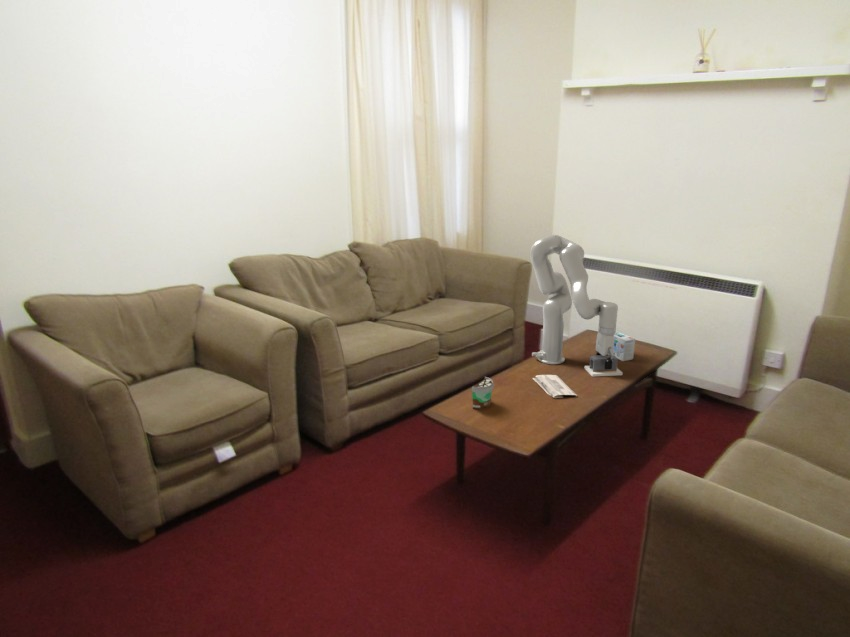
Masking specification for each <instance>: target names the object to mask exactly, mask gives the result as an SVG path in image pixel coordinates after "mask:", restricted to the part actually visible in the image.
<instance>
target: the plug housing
mask: <svg viewBox="0 0 850 637" xmlns="http://www.w3.org/2000/svg"><path fill="white" fill-rule="evenodd" d="M607 357H608V358H609V357H610V356H607ZM605 361H606V358H605V356H602V355H595V354H594V355H593V354H592V355H590V356H589V365H588V366H589V368H593V372H600V371H617V368H618V362H619V359H618V358H617V357H616V356H614V359H613V361H612V369H604V367H605Z"/></svg>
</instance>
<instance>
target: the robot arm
mask: <svg viewBox="0 0 850 637" xmlns="http://www.w3.org/2000/svg"><path fill="white" fill-rule="evenodd" d="M553 254H557V255H558V256H559V261H560V264H561V265H562V267H563V270H564V272H565V275H566V277H567V279H568V281H569V284H570V290H569V286H568V282H567V280H566V278H565V276H564V274H562V273H561V272H559V271H554V269H553V264H552V263H551V261H550V260H549V258H548V257H549V256H550V255H553ZM584 257H585V250H584V249H583V247H582V246H581V245H579V244H577V243H576V242H574V241H572V240H569V239H567V238H565V237H563V236H560V235H558V234H551V235H547V236H544V237H541V238H539V239H538V240H536V241H535V242H534V243H533V244H532V245H531V247H530V251H529V259H530V263H531V266H532V268H533V272H534V274H535V275H534V277H535V280H536V283H537V285H538V288H539V289H538V290H539V292H541V294H542V295H544V296H551V297H550V298H547V299H545V301H544V303H543V304H542V318H543V319H542V320H543V324H542V326H543V327H542V344H541V349H539V351H537V352H535V351H533V352H531V356H532V357H535V358H537V359H538V361H540V362H541V363H543V364H546V365H561V364H563V363H564V362H565V360H566V358H565V357H564V356H563V342H564V341H563V340H564V327H565V325H564V324H565V323H564V322H565V321H564V314H565V313H567V312H568V311H569V310H571V308H572V306H573V305H574V308H575V309H576V312H577V314H578V315H579V317H581V319H584V320H591V319H593V318H595V317H596V316H598V327H597V333H596V334H597V335H596V339H595V340H596V341H595V348H594V349H595V351H596V355H602V356H605V358H606V361H605V367H604V369H612V361H613V359H614V334H615V333H617V332H616V330H617V328H616V327H617V318H618V308H619V307H618V304H616V303H615V302H611V301H610V302H609V301H604V300H601V299H597V298H591V299H590V298H589V296H588V291H587V290H588V289H587V286H588V282H589V274H588V272H587V270H586V268H585V266H584V263H583V261H582V260H584ZM570 291H571V293H570ZM572 303H573V304H572ZM607 356H610V357H609V358H608V357H607Z"/></svg>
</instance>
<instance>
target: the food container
mask: <svg viewBox="0 0 850 637" xmlns="http://www.w3.org/2000/svg"><path fill="white" fill-rule="evenodd" d="M494 388H495V384H494V382H493V379H491V378H490V377H487V376H484V379H483V380H481V381H479V382H478V383H477V384H476V385H475V386H474V385H473V386H472V387H471V393H472V394H471V395H472V397H471V398H472V409H474V410H485V409H489V408H490V406H491V404H492V403H491V402H492V400H491V399H492V394H493V393H492V392H493V390H494Z"/></svg>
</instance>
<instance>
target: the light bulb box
mask: <svg viewBox="0 0 850 637" xmlns="http://www.w3.org/2000/svg"><path fill="white" fill-rule="evenodd" d="M635 343H636V337H632V336H629V335H627V334H626V333H623V332H615V334H614V356H616V357H617V358H618V361H619V360H620V361H621V362H625V361H630V360H634V353H635V345H636V344H635Z"/></svg>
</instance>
